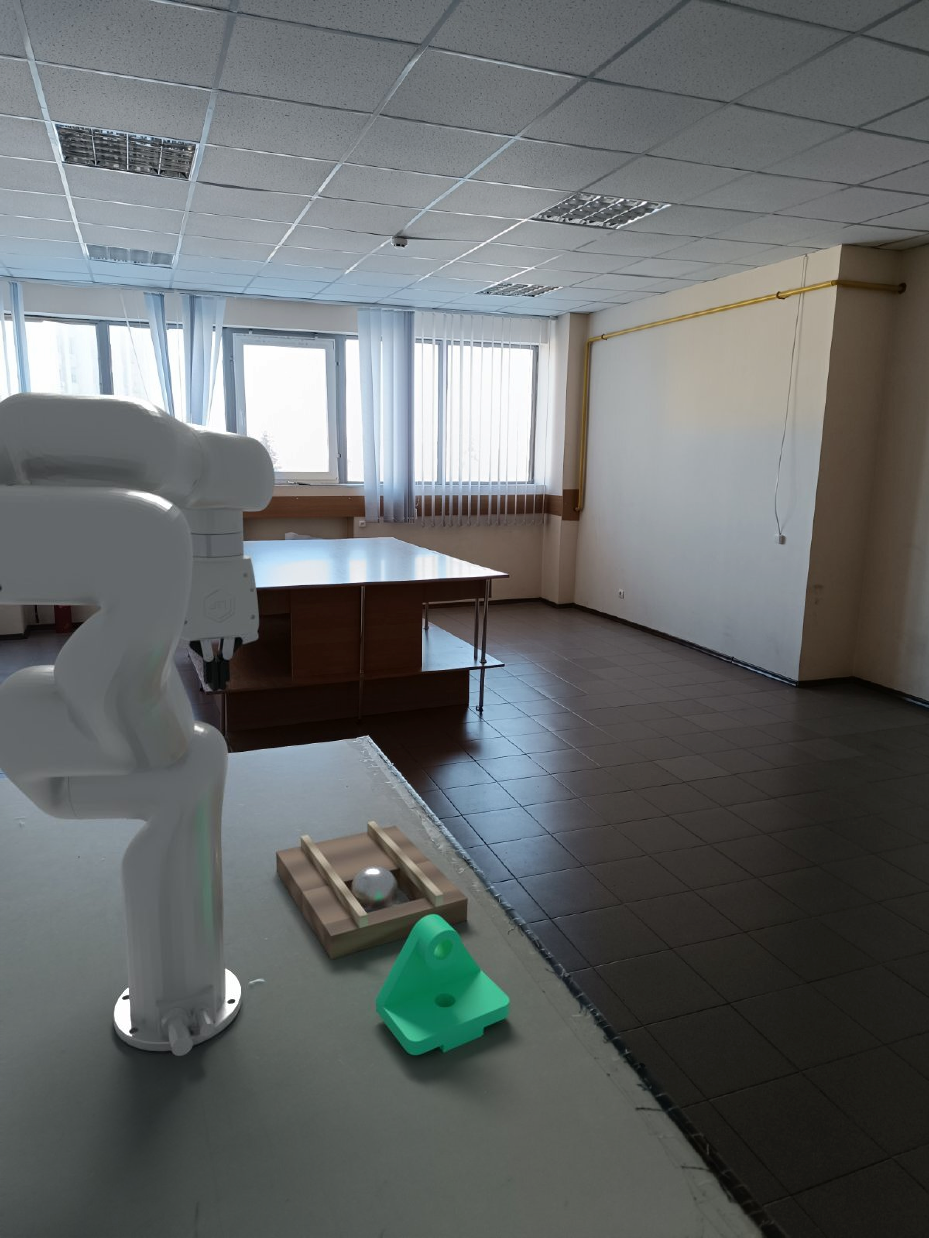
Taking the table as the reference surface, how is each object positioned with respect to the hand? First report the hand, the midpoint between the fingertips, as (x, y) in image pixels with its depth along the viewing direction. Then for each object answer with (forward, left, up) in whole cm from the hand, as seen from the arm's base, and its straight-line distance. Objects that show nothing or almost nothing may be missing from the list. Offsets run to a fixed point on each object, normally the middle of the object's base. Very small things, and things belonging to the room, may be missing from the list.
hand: (217, 687), depth 104 cm
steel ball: (-16, -15, -24) cm, 33 cm away
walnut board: (-12, -16, -27) cm, 34 cm away
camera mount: (-38, -14, -28) cm, 49 cm away
